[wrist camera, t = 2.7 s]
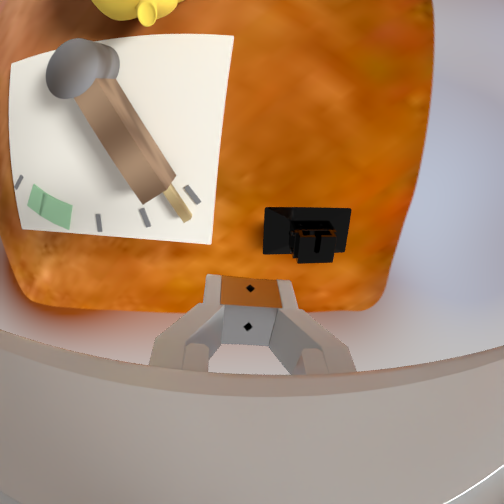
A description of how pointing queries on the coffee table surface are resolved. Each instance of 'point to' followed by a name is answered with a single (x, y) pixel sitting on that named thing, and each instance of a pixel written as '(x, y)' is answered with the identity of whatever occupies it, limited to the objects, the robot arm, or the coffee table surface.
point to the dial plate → (96, 157)
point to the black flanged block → (306, 232)
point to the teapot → (136, 9)
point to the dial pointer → (113, 117)
